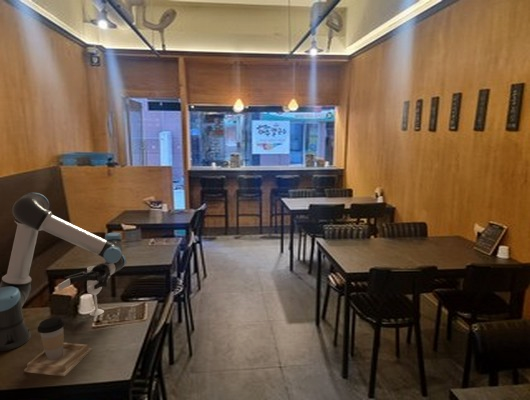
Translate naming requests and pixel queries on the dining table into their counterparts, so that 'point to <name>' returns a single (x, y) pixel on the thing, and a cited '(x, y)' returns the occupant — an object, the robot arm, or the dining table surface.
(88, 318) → the dining table surface
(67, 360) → the wooden tray
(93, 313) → the champagne flute
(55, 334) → the coffee cup
